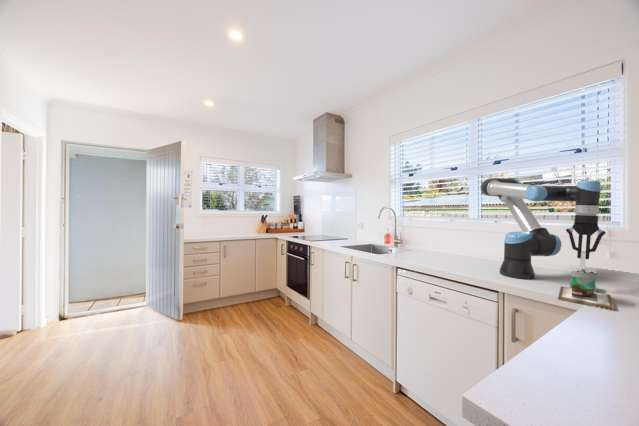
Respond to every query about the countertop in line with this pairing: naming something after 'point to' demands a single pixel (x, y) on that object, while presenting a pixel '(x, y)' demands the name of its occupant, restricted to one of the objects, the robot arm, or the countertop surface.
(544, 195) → the robot arm
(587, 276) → the food container
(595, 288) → the button housing
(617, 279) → the countertop surface
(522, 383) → the countertop surface
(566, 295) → the drawing board
